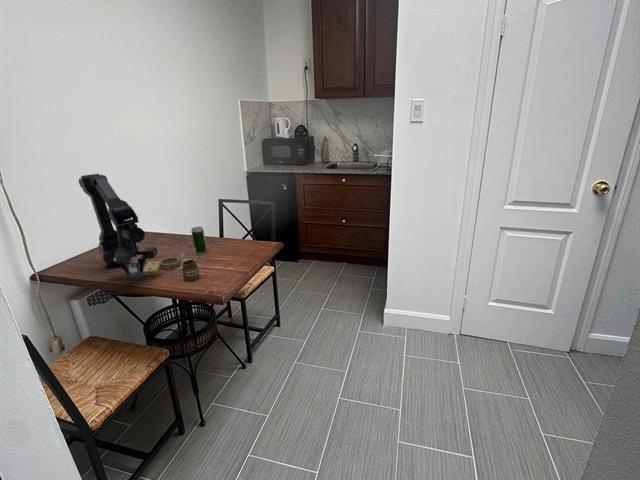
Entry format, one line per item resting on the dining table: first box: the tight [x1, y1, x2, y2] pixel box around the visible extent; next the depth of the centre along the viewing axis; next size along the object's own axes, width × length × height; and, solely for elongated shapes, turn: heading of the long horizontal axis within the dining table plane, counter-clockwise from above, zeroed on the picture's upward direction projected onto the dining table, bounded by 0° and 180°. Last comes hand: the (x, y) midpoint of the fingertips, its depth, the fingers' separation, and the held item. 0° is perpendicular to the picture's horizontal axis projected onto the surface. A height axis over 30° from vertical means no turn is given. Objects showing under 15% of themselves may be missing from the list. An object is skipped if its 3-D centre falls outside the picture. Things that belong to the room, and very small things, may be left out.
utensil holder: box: [179, 248, 200, 282], centre depth 134 cm, size 6×6×12 cm
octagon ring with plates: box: [142, 256, 199, 274], centre depth 148 cm, size 21×10×2 cm, turn 97°
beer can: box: [191, 226, 208, 255], centre depth 160 cm, size 5×5×12 cm
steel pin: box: [126, 259, 143, 281], centre depth 137 cm, size 5×5×6 cm
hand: (135, 273), depth 138 cm, fingers open, 5 cm apart
